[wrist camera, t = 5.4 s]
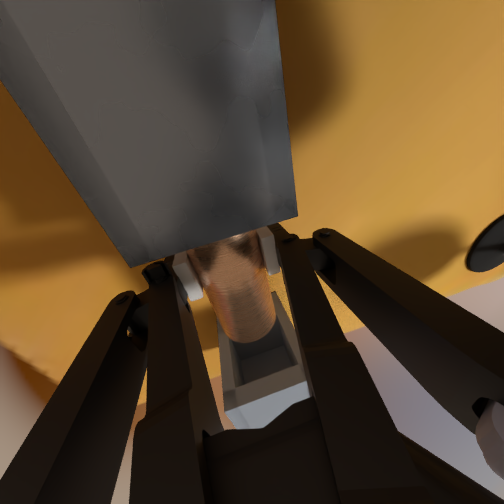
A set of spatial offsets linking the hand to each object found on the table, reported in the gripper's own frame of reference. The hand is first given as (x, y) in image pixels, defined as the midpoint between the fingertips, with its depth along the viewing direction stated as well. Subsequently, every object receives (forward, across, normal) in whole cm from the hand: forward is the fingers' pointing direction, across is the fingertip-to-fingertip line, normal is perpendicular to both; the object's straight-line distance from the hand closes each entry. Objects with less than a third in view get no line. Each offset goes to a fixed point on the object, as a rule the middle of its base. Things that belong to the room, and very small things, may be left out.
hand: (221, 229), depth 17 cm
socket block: (+1, 0, -13) cm, 13 cm away
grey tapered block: (+1, 0, +7) cm, 7 cm away
